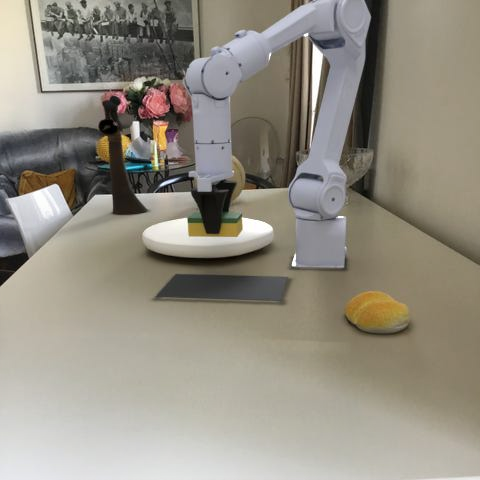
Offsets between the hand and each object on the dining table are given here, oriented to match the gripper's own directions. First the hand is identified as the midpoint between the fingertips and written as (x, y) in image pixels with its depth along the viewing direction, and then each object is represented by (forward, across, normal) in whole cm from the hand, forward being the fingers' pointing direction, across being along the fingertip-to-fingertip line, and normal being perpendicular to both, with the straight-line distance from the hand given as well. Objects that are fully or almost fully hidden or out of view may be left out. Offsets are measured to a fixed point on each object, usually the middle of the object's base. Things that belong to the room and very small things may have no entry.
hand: (216, 229), depth 92 cm
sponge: (+1, 0, 0) cm, 1 cm away
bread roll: (+10, +14, +25) cm, 31 cm away
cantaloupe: (+10, -72, -15) cm, 74 cm away
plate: (+10, -22, -7) cm, 25 cm away
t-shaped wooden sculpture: (+10, -60, -38) cm, 71 cm away
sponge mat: (+10, +2, +1) cm, 10 cm away
